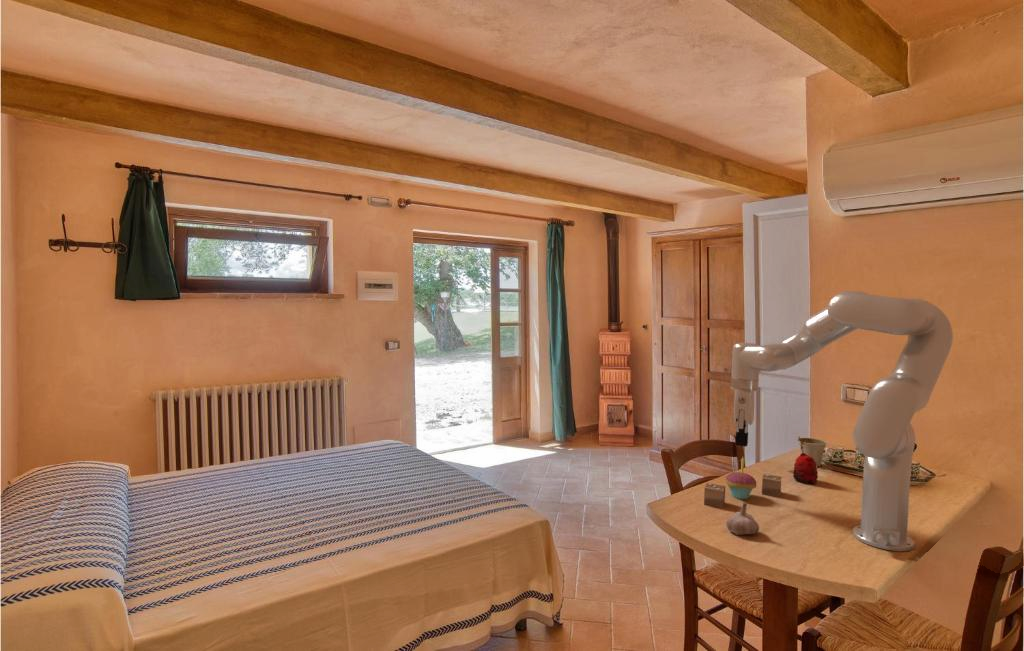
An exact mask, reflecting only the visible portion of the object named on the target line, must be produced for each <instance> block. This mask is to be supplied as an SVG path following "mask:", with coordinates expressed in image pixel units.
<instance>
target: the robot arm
mask: <svg viewBox="0 0 1024 651" xmlns="http://www.w3.org/2000/svg"><path fill="white" fill-rule="evenodd" d="M858 329H860V330H866V331H870V332H871V331H872V332H877V333H878V332H879V333H881V334H882V333H883V334H889V335H895V336H907V341H906V344H905V345H904V347H903V348H902V350H901V352H900V354H899V356H898V359H897V362H896V363H895V366H894V369H893V370H892V372H891V374H890V375H889V376H886V377H883V378H881V379H879V380H878V381H876V383H874V385H873V386H872V387H871V389H870V391H869V393H868V395H867V397H866V398H865V402H864V404H863V406H862V409H861V411H860V413H859V416H858V418H857V419H856V422H855V424H854V428H853V430H852V439H853V443H854V446H855V447H856V449H857V451H858V452H860V453H861V454H862V455H864V461H863V473H862V490H861V491H862V492H861V507H860V508H861V510H860V511H861V513H860V524H859V525H856V526H854V527H853V528H852V534H853V536H854V537H855V538H856V539H857V540H859V541H860V542H862V543H863V544H867V545H869V546H872V547H875V548H879V549H882V550H886V551H887V550H888V551H891V552H908V551H907V550H909V551H911V549H912V550H914V548H915V540H913V538H912V537H911V536H909V535H908V523H909V507H910V506H909V505H910V489H911V477H912V476H911V475H912V474H911V473H912V472H911V471H912V463H913V455H914V451H915V445H916V433H915V430H914V427H913V425H912V424H911V422H912V420H913V417H914V415H915V414H916V413H918V412H920V411H922V410H923V409H924V408H926V406H927V405H928V403H929V402H930V398H931V395H932V393H933V390H934V388H935V386H936V384H937V382H938V379H939V378H940V375H941V373H942V370H943V369H944V365H945V363H946V360H948V359H947V358H948V356H949V353H950V352H951V348H952V346H953V345H952V344H953V338H954V337H953V336H954V335H953V334H954V333H953V327H952V325H951V322H950V320H949V318H948V317H947V315H946V314H945V313H944V312H943V311H942V310H941V309H940V308H939V307H938V306H936V305H935V304H934V303H932V302H930V301H928V300H924V299H920V298H914V297H913V298H905V297H903V298H902V297H895V296H887V295H885V296H884V295H877V294H876V295H875V294H870V293H868V292H866V291H861V290H860V291H859V290H845V291H841V292H839V293H836V294H835V295H834V296H833V297H832V298H831V299H830V300H829V301H828V305H827V307H825V308H823V309H820V310H819V311H818V312H816V313H814V314H812V315H811V316H810V317H808V318H806V319H805V320H804V322H803V327H802V328H801V330H799V331H798V332H797V333H795V334H794V335H792V336H790V337H788V338H787V339H785V340H784V341H781V342H780V343H774V344H773V343H772V344H766V345H765V344H764V345H759V344H757V343H753V342H736V343H734V345H733V346H732V355H731V356H732V358H731V378H730V389H731V390H734V400H733V422H734V423H735V424H736V432H735V445H736V446H741V447H748V446H749V445H748V443H749V432H748V431H749V430H748V429H749V426H751V425H752V424H753V423H754V421H755V402H756V401H755V399H756V398H755V393H756V392H759V386H760V385H759V384H760V382H759V380H760V371H761V372H765V373H766V372H771V373H772V372H776V371H782V370H787V369H790V368H792V367H794V366H796V365H798V364H799V363H802V362H803V361H805V360H807V359H809V358H810V357H812V356H814V355H815V354H817V353H818V352H820V351H821V350H823V349H824V348H826V347H827V346H829V345H830V344H832V343H833V342H836V341H838V340H839V339H841V338H843V337H845V336H846V335H847V336H848V335H849V334H851V333H852V332H854V331H856V330H858Z"/></svg>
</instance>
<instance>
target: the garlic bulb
mask: <svg viewBox="0 0 1024 651" xmlns="http://www.w3.org/2000/svg"><path fill="white" fill-rule="evenodd" d="M747 505H748V503H747V502H745V501H744V502H743V503H742V507H741V510H740V511H737V512H735V513H734V514H732V515H731V516H729V517H728V518H727V520H726V522H725V525H726V528H727V530H728V531H730V532H731V533H734V534H735V535H738V536H744V535H755V534H757V533H758V532H759V530H760V526H759V523H758V521H756V520H755V517H753V516H752V514H750V513H747V512H746V511H747V510H746V509H747Z"/></svg>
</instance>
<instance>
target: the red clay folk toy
mask: <svg viewBox="0 0 1024 651" xmlns="http://www.w3.org/2000/svg"><path fill="white" fill-rule="evenodd" d="M798 438H799V439H800V440H797V442H798V441H800V442H801V449H802V453H801V454H799V456H797V457H796V459H795V462H794V466H793V475H792V477H793V478H794V480H796V481H797V482H800V483H802V482H803V484H810V485H811V484H812V485H814V484H816V483H817V482H818V476H819V475H818V474H819V473H818V472H819V471H818V467H816V462H815V461H814V459H813V458H812V457H811V456H809V455H806V454H805V453H803V446H802V444H803V445H804V442H802V439H803V438H804V437H800V436H798ZM801 438H802V439H801Z"/></svg>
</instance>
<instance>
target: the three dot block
mask: <svg viewBox="0 0 1024 651" xmlns="http://www.w3.org/2000/svg"><path fill="white" fill-rule="evenodd" d="M703 494H704V496H703V498H704V499H703V505H704V506H710V507H713V508H720V509H723V508H724V505H725V503H726V485H724V484H723V485H722V484H716V483H712V482H706V485H705V486H704V492H703Z"/></svg>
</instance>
